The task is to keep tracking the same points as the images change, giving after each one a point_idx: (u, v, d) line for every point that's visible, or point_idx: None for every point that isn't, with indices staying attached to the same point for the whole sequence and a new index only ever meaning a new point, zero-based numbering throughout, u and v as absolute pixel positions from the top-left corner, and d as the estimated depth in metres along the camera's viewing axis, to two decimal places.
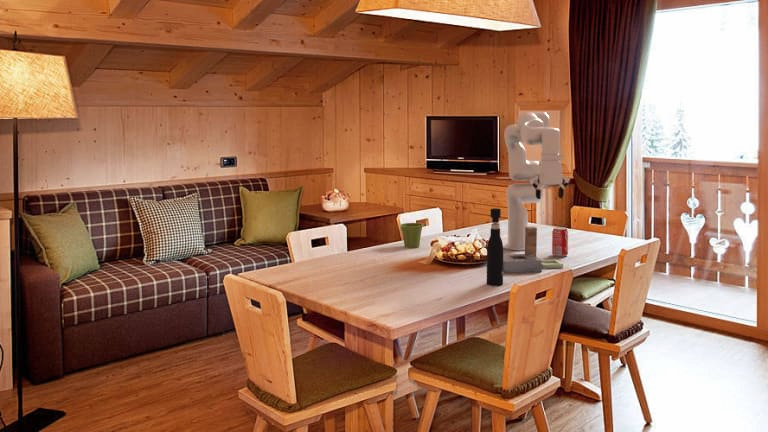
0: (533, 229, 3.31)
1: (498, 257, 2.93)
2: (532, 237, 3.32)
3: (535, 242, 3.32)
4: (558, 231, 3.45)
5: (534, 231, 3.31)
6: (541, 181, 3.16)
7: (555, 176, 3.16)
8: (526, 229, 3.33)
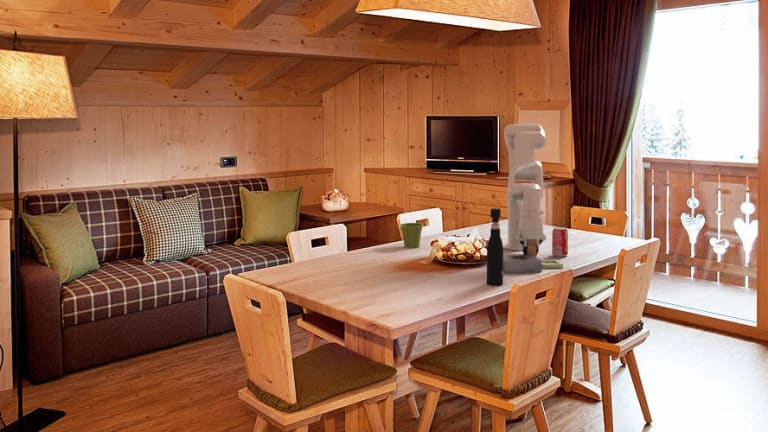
0: None
1: (498, 257, 2.93)
2: None
3: (535, 242, 3.32)
4: (558, 231, 3.45)
5: None
6: (522, 236, 3.31)
7: (536, 231, 3.31)
8: None
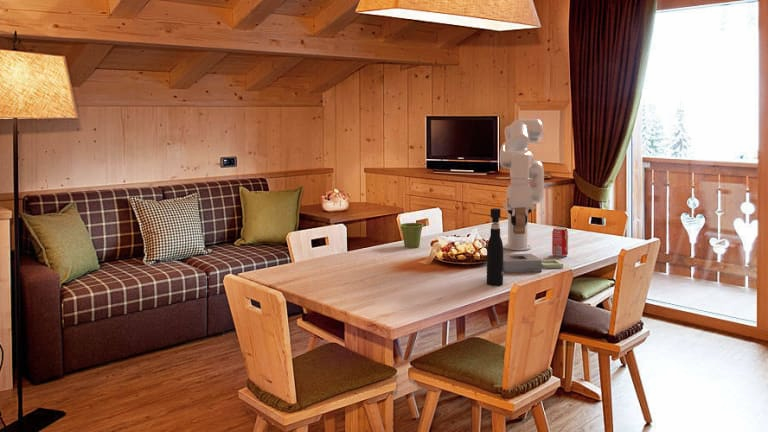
0: None
1: (498, 257, 2.93)
2: None
3: (524, 211, 3.18)
4: (558, 231, 3.45)
5: None
6: (510, 205, 3.17)
7: (524, 200, 3.17)
8: None
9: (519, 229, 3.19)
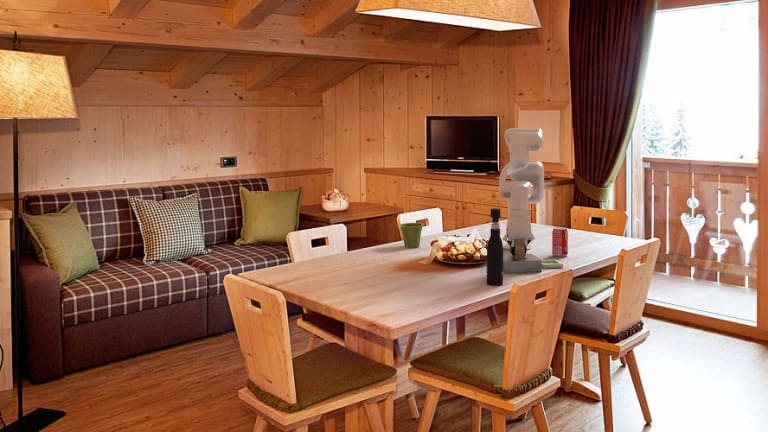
0: None
1: (498, 257, 2.93)
2: None
3: (523, 242, 3.20)
4: (558, 231, 3.45)
5: None
6: (510, 236, 3.19)
7: (524, 231, 3.19)
8: None
9: None
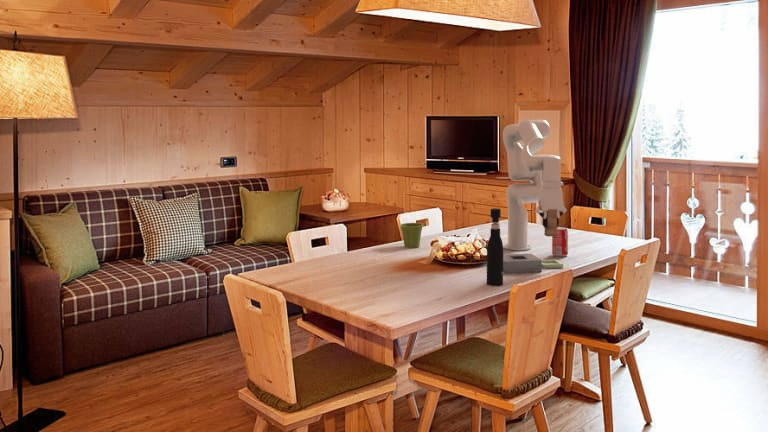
0: None
1: (498, 257, 2.93)
2: (552, 209, 3.22)
3: (555, 214, 3.23)
4: (558, 231, 3.45)
5: None
6: (542, 208, 3.22)
7: (556, 202, 3.22)
8: None
9: (550, 231, 3.24)
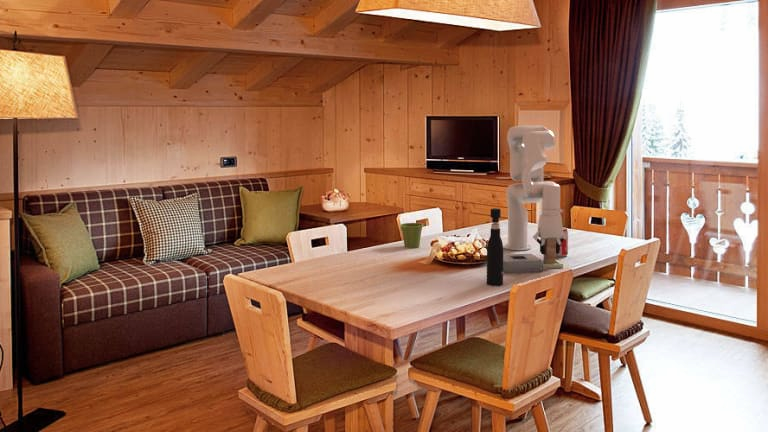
0: None
1: (498, 257, 2.93)
2: (551, 238, 3.24)
3: (554, 244, 3.25)
4: None
5: None
6: (542, 235, 3.24)
7: (555, 230, 3.24)
8: None
9: (549, 261, 3.26)
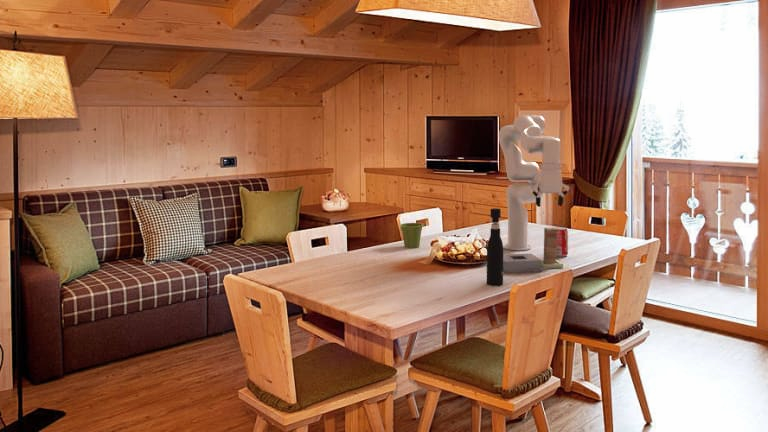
0: (552, 230, 3.24)
1: (498, 257, 2.93)
2: (551, 238, 3.24)
3: (554, 244, 3.25)
4: (558, 231, 3.45)
5: (554, 233, 3.24)
6: (541, 189, 3.25)
7: (555, 184, 3.25)
8: (545, 230, 3.26)
9: (549, 261, 3.26)
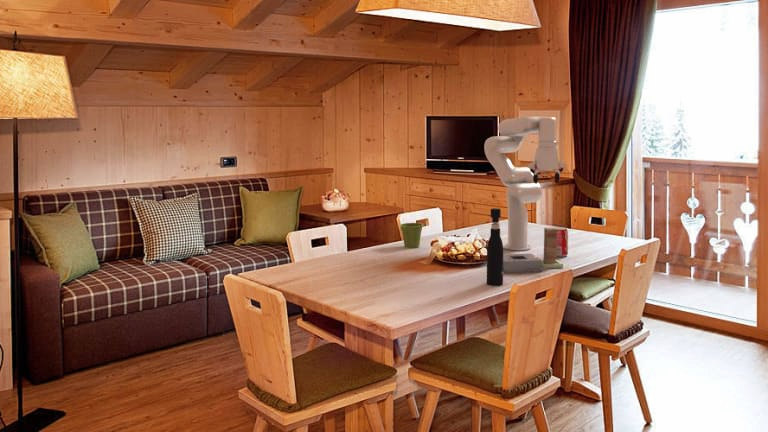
0: (552, 230, 3.24)
1: (498, 257, 2.93)
2: (551, 238, 3.24)
3: (554, 244, 3.25)
4: (558, 231, 3.45)
5: (554, 233, 3.24)
6: (538, 167, 3.38)
7: (551, 161, 3.38)
8: (545, 230, 3.26)
9: (549, 261, 3.26)
